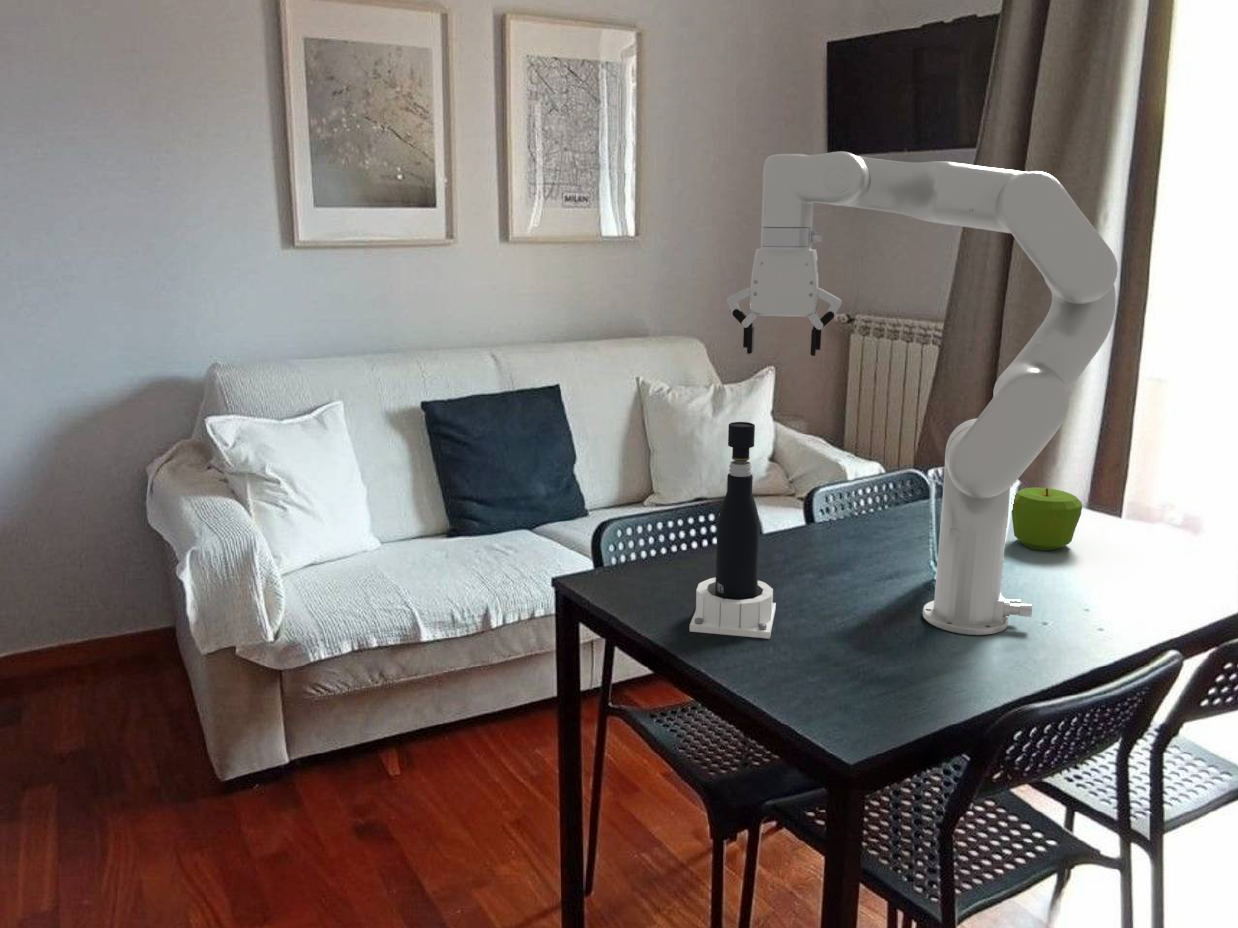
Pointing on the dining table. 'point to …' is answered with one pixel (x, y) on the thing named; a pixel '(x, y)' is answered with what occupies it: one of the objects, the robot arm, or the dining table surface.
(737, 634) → the flange socket
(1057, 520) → the apple
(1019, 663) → the dining table surface
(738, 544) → the dark blue bottle
